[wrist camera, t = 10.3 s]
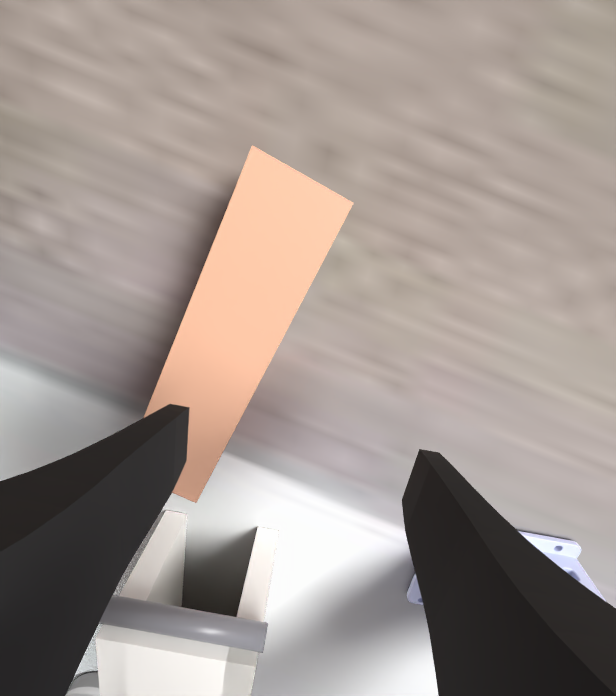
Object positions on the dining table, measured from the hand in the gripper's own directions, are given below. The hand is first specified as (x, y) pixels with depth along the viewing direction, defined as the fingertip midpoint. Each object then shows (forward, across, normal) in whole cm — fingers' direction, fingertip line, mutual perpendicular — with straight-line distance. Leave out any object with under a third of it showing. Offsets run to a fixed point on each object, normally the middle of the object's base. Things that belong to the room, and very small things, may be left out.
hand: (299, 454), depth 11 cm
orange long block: (+10, +4, 0) cm, 11 cm away
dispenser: (+9, +4, +20) cm, 22 cm away
